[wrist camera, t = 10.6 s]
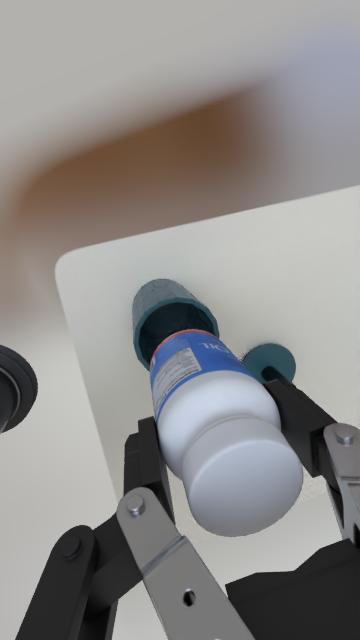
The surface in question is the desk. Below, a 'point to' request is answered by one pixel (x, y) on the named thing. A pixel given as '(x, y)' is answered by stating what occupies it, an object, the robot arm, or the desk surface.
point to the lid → (271, 364)
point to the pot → (166, 316)
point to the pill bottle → (221, 436)
